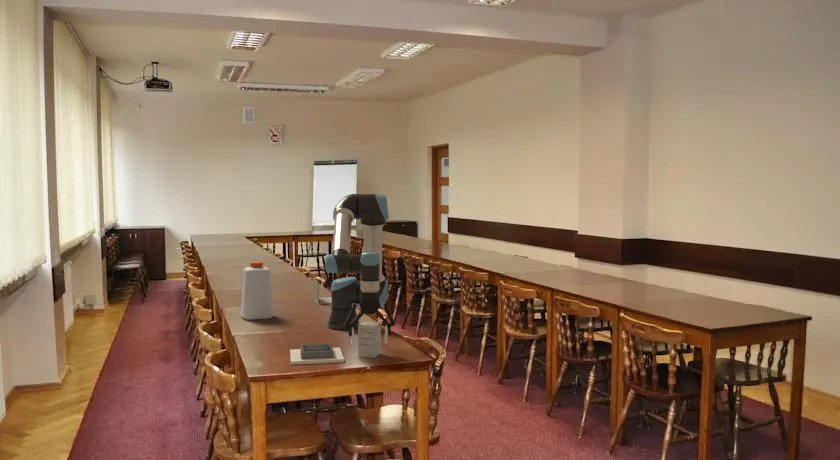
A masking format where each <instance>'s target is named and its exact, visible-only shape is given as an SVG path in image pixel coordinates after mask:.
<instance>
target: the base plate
mask: <svg viewBox="0 0 840 460" xmlns="http://www.w3.org/2000/svg"><path fill="white" fill-rule="evenodd" d="M332 348H333V351H334V358H316V359H301V355H300V348H299V349H297V348H296V349H295V348H294V349H293V348H292V349H289V355H290V365H291V366H292V365H293V366H294V365H311V364H313V365H314V364H335V363H337V364H339V363H345V357H344V355H343V353H342V350H341V347H332ZM304 352H311V351H304Z"/></svg>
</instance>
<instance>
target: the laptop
mask: <svg viewBox="0 0 840 460" xmlns="http://www.w3.org/2000/svg"><path fill="white" fill-rule="evenodd" d="M319 283H320V282H319V281H318V280H317V279H316V278H314V277H312V300H313V301H314V302H315V303H317V305H324V304H325V305H331V298H332V296H329V297H327V296H326V297H320V293H319V291H320V288H319V286H320V285H319Z"/></svg>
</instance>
